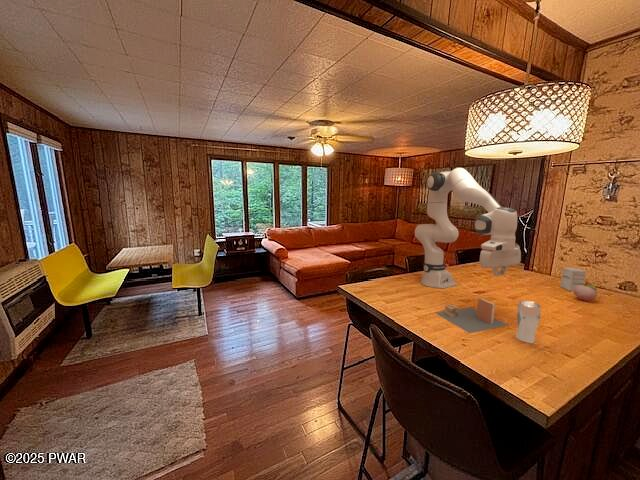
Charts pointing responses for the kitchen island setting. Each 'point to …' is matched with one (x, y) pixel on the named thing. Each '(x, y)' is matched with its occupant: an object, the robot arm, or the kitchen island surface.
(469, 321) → the mat
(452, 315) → the beech cube
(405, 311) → the kitchen island surface
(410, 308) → the kitchen island surface
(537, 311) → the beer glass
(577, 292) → the decorative fruit
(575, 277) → the supplement box
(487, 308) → the tile
